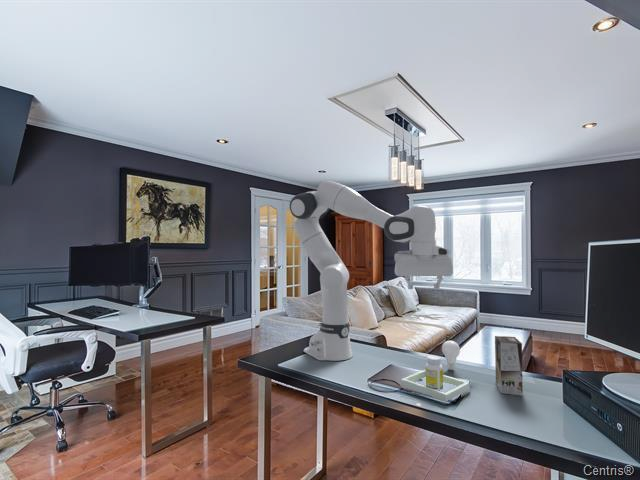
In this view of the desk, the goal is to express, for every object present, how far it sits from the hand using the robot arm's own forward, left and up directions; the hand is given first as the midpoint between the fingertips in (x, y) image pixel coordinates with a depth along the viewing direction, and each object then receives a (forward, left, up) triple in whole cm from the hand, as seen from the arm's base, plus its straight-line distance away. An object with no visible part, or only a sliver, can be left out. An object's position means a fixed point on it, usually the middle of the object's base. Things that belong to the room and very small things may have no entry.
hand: (423, 288), depth 123 cm
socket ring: (-4, -17, -31) cm, 36 cm away
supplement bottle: (+9, -8, -31) cm, 33 cm away
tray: (+9, -8, -31) cm, 33 cm away
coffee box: (+24, +11, -31) cm, 41 cm away
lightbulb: (+3, +13, -31) cm, 34 cm away
